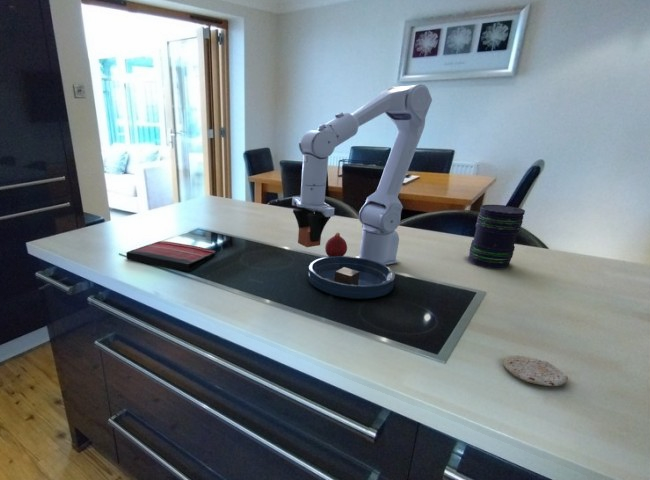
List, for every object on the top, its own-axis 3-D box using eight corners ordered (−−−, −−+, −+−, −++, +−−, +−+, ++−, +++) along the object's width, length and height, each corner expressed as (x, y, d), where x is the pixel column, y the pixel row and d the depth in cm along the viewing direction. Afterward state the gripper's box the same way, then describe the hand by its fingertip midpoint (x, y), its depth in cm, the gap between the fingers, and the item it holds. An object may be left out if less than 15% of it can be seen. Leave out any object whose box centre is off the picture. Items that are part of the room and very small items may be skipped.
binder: (188, 263, 100) (125, 251, 109) (188, 272, 100) (126, 259, 109) (218, 248, 113) (160, 239, 122) (218, 256, 114) (160, 246, 123)
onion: (346, 264, 105) (349, 236, 102) (324, 263, 106) (327, 235, 103) (344, 257, 110) (347, 230, 107) (323, 256, 111) (326, 229, 108)
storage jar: (470, 266, 104) (483, 211, 98) (464, 254, 112) (477, 203, 107) (514, 271, 101) (531, 214, 95) (504, 259, 109) (520, 206, 103)
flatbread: (509, 381, 59) (511, 376, 59) (497, 354, 65) (498, 349, 65) (575, 394, 56) (577, 388, 56) (555, 365, 63) (557, 359, 62)
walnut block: (342, 282, 93) (344, 266, 91) (357, 287, 90) (360, 271, 88) (333, 287, 90) (335, 271, 89) (348, 292, 87) (351, 276, 86)
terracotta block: (310, 240, 101) (311, 225, 99) (320, 245, 97) (321, 229, 96) (297, 242, 99) (298, 227, 98) (306, 247, 96) (308, 231, 94)
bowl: (352, 264, 106) (354, 251, 104) (411, 291, 89) (413, 277, 88) (292, 275, 98) (293, 262, 97) (344, 307, 82) (346, 292, 81)
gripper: (283, 181, 97) (280, 233, 102) (318, 190, 85) (313, 249, 90) (306, 179, 100) (302, 230, 105) (344, 187, 88) (337, 245, 93)
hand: (309, 238), depth 98 cm, fingers closed on terracotta block, 4 cm apart
